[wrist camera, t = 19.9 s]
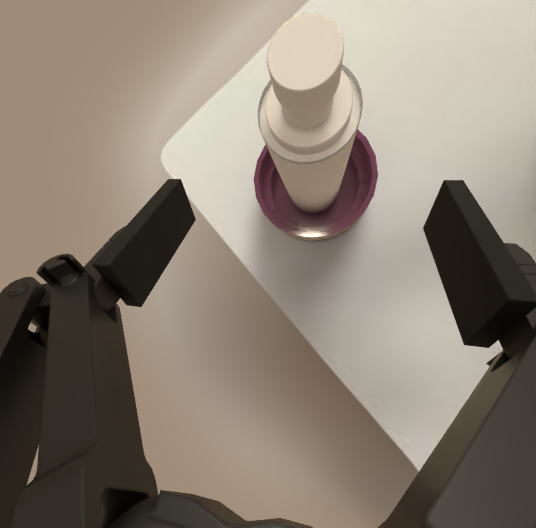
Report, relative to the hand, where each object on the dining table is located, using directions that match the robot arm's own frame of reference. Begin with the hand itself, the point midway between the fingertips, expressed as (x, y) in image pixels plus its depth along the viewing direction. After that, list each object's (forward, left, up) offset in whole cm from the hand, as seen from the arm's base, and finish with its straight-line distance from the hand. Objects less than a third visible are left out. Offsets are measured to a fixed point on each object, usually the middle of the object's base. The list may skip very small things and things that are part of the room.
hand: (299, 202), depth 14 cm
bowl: (-6, -3, -22) cm, 23 cm away
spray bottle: (-6, -3, -22) cm, 23 cm away
